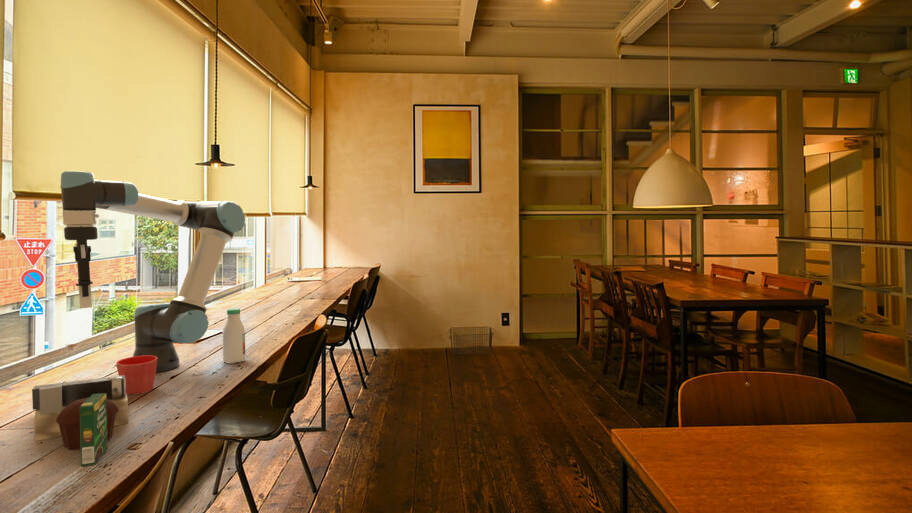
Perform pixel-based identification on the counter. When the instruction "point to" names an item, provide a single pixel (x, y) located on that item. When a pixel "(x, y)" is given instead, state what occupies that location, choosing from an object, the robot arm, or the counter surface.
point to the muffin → (71, 422)
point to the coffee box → (93, 429)
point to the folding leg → (85, 389)
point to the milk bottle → (233, 337)
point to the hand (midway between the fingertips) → (86, 307)
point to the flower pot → (138, 373)
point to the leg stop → (50, 399)
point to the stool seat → (50, 428)
